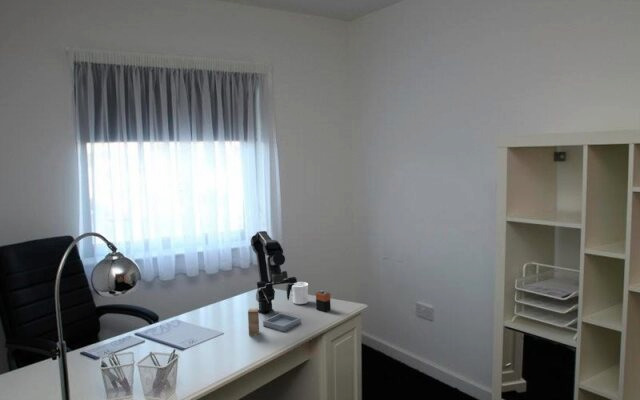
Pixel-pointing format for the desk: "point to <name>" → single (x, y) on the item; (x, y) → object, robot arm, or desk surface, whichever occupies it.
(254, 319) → the walnut block
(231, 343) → the desk surface
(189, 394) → the desk surface
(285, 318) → the tray
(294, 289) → the mug
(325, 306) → the battery
